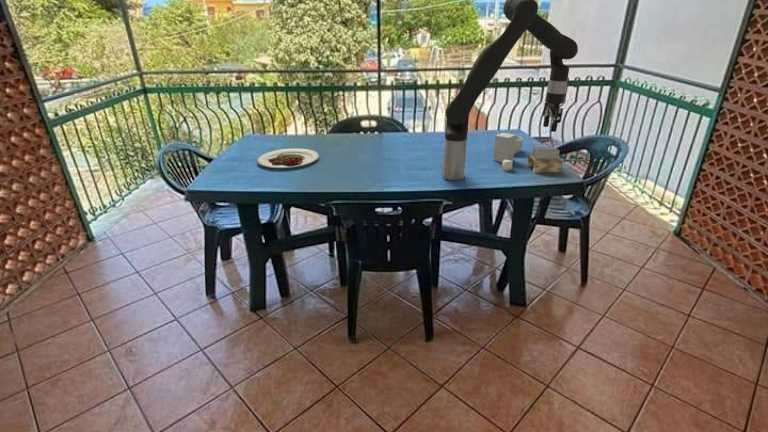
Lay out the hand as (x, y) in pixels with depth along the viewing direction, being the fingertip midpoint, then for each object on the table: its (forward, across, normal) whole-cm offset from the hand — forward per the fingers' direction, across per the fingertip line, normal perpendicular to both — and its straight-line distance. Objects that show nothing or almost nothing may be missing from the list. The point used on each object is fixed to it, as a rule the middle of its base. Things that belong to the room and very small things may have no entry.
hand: (549, 129), depth 181 cm
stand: (+18, -1, 0) cm, 18 cm away
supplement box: (+19, +12, +14) cm, 27 cm away
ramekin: (+19, +28, +7) cm, 34 cm away
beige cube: (+19, 0, +17) cm, 25 cm away
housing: (+13, -1, 0) cm, 13 cm away
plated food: (+21, +21, +120) cm, 124 cm away
